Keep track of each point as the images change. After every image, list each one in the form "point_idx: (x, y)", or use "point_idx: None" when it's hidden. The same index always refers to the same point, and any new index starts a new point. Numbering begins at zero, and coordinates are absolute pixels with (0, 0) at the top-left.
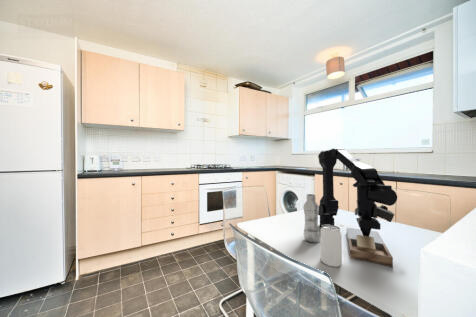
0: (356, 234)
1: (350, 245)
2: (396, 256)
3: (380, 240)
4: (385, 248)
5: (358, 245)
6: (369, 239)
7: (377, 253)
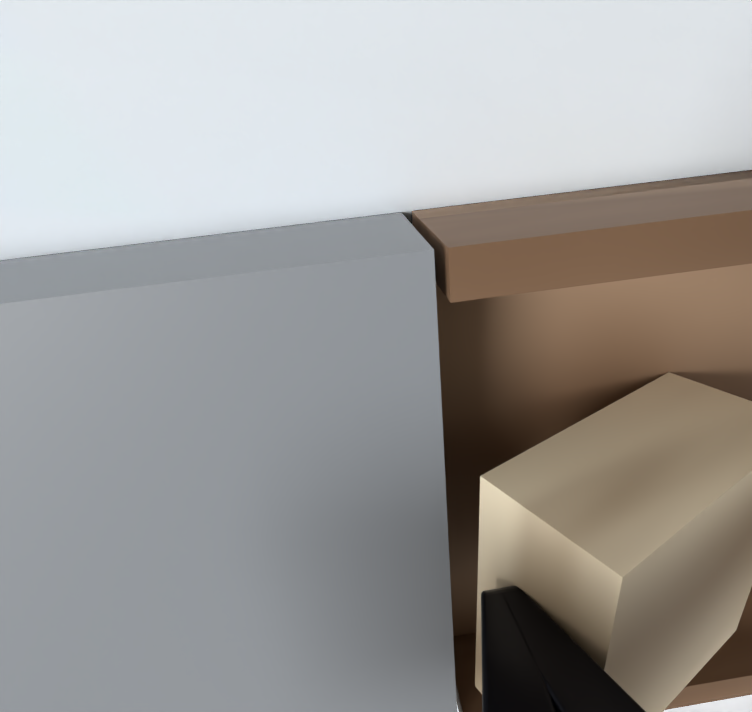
0: (161, 706)
1: (746, 688)
2: (505, 19)
3: (202, 335)
4: (713, 256)
5: (731, 627)
6: (662, 596)
7: (632, 343)
